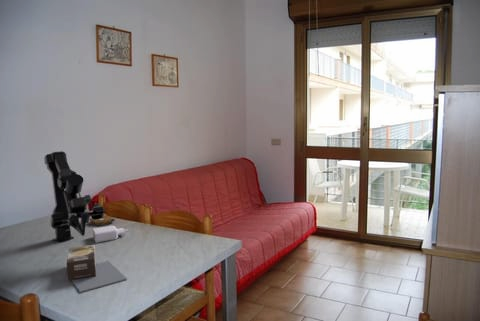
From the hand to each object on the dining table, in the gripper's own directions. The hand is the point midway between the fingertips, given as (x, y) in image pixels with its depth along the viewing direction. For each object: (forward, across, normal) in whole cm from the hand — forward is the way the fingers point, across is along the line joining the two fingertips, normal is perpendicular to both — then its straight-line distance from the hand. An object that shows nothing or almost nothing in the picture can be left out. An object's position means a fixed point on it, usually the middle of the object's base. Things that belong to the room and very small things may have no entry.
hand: (83, 235), depth 139 cm
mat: (+17, 0, -1) cm, 17 cm away
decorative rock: (-30, +22, +47) cm, 60 cm away
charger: (-10, +18, +27) cm, 34 cm away
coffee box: (+4, 0, +7) cm, 8 cm away
